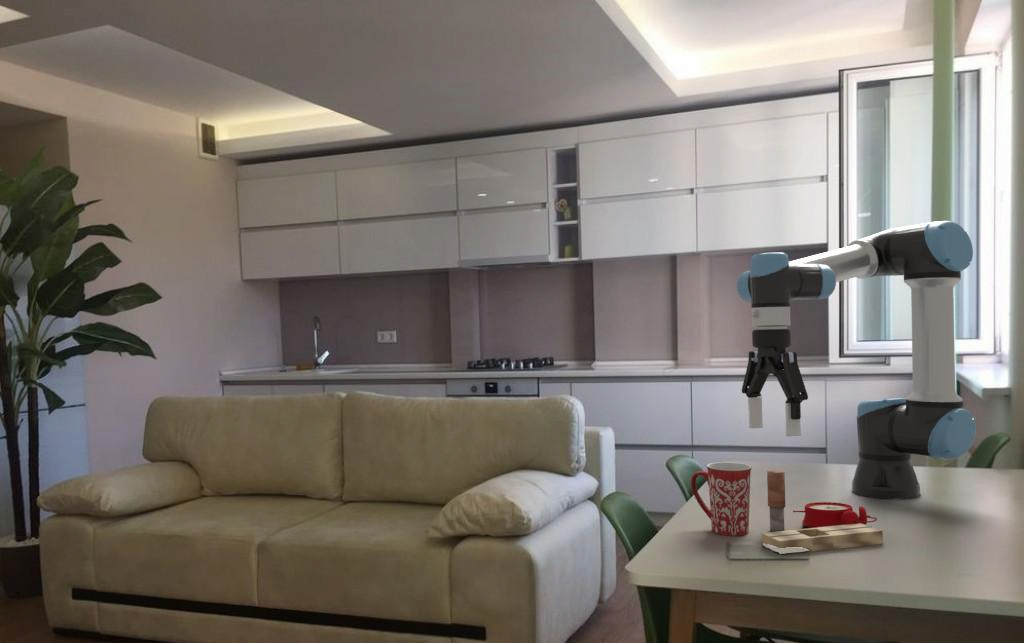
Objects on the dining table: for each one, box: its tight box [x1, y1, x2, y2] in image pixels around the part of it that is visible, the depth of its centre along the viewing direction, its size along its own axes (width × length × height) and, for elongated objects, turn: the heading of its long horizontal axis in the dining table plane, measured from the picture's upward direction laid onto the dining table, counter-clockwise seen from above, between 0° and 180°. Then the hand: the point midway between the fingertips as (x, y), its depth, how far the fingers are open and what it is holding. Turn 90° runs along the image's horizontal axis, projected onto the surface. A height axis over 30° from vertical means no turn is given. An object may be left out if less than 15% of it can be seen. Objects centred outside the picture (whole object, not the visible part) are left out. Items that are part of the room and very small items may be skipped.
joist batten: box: [761, 522, 884, 553], centre depth 147 cm, size 22×6×3 cm, turn 104°
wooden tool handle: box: [766, 469, 786, 532], centre depth 158 cm, size 3×3×12 cm
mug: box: [690, 461, 752, 537], centre depth 160 cm, size 13×9×14 cm
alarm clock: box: [792, 501, 878, 528], centre depth 158 cm, size 10×6×15 cm
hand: (773, 431), depth 158 cm, fingers open, 13 cm apart
